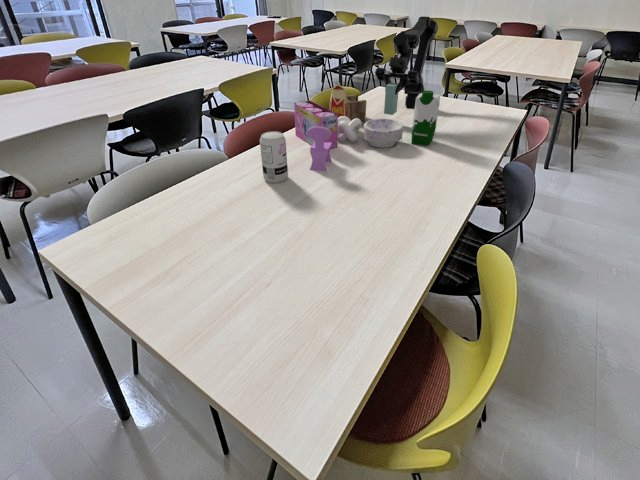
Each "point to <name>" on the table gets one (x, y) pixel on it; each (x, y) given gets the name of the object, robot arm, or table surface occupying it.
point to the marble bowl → (383, 132)
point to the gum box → (315, 121)
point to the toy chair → (320, 147)
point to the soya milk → (425, 118)
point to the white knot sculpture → (348, 129)
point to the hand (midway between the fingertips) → (390, 93)
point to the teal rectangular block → (391, 99)
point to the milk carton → (339, 101)
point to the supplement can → (274, 157)
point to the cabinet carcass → (356, 108)
